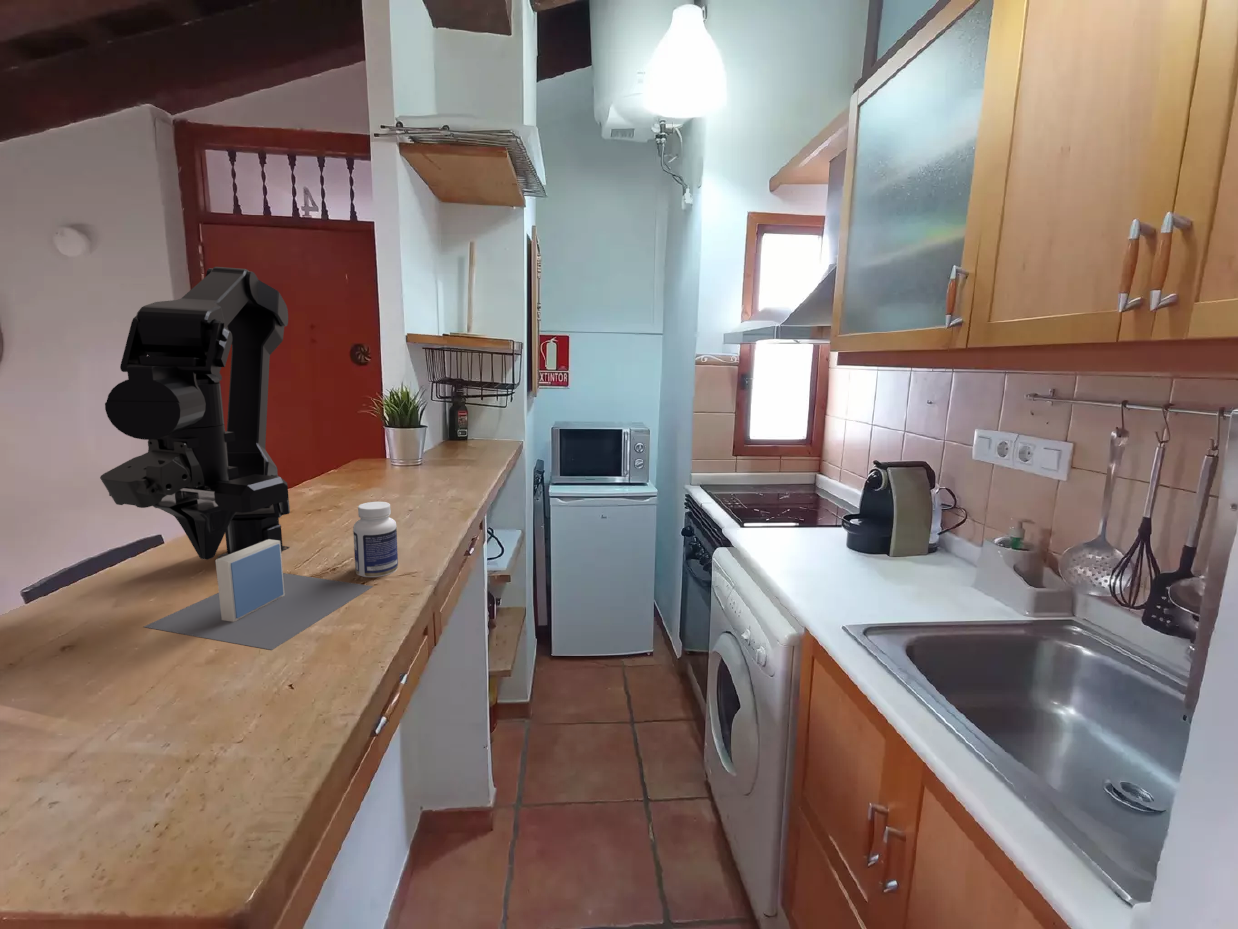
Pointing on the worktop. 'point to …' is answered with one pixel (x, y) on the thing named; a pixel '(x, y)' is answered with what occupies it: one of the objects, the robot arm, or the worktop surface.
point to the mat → (265, 613)
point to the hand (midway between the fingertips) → (207, 558)
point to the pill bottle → (375, 540)
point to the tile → (249, 579)
